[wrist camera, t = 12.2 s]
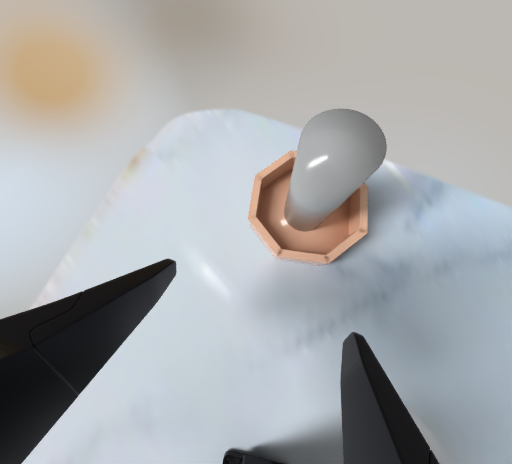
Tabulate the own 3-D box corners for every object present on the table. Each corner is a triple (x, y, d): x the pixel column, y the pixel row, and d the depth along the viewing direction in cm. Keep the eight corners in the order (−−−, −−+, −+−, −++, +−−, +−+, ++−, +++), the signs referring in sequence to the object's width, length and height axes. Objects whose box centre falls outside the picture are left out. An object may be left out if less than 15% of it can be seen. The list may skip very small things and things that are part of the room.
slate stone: (331, 224, 23) (402, 166, 11) (291, 236, 23) (317, 193, 11) (315, 188, 24) (363, 98, 12) (278, 200, 24) (288, 122, 12)
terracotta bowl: (351, 270, 22) (366, 269, 19) (246, 255, 23) (242, 251, 20) (354, 174, 25) (368, 157, 21) (260, 164, 26) (259, 147, 23)
